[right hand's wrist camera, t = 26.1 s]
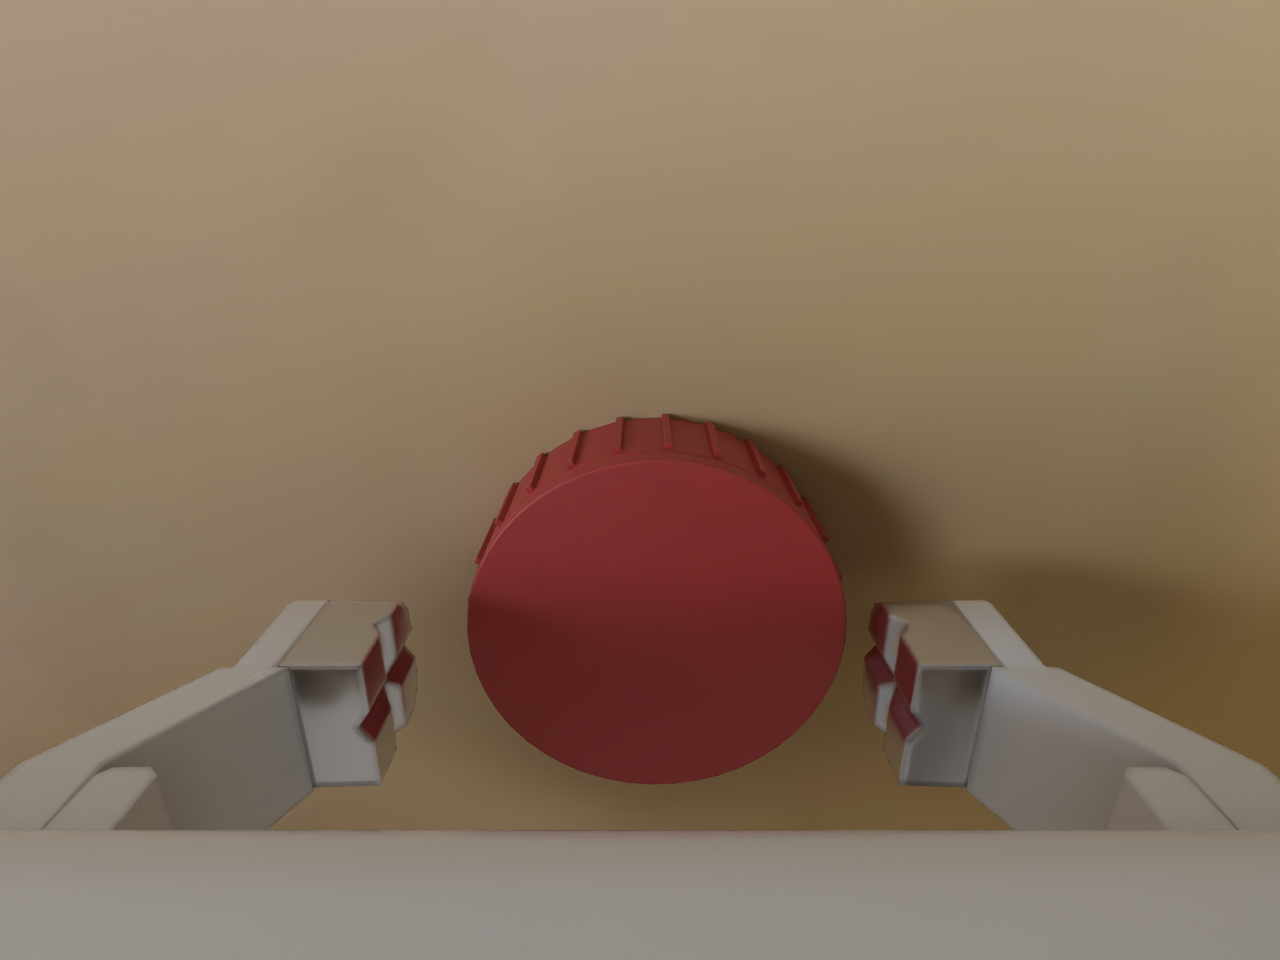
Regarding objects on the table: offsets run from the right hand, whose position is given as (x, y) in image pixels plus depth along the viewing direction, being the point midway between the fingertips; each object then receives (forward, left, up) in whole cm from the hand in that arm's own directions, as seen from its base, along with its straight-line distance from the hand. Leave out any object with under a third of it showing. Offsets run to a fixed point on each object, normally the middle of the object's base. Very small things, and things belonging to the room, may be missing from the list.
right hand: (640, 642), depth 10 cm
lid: (0, 0, -1) cm, 1 cm away
